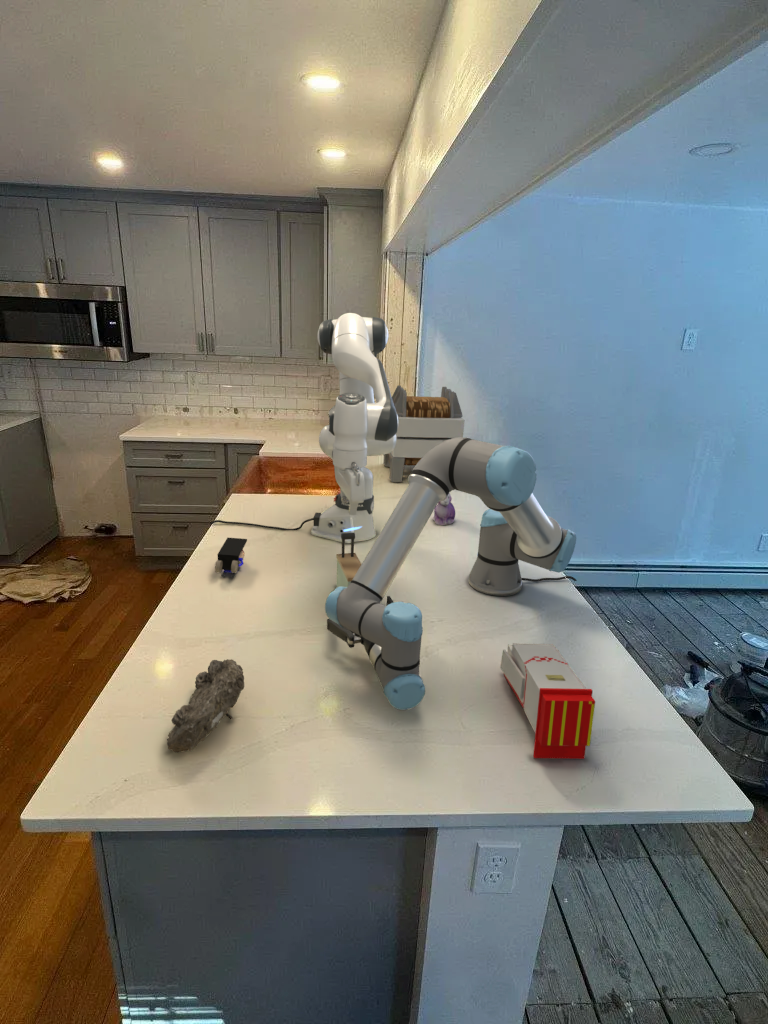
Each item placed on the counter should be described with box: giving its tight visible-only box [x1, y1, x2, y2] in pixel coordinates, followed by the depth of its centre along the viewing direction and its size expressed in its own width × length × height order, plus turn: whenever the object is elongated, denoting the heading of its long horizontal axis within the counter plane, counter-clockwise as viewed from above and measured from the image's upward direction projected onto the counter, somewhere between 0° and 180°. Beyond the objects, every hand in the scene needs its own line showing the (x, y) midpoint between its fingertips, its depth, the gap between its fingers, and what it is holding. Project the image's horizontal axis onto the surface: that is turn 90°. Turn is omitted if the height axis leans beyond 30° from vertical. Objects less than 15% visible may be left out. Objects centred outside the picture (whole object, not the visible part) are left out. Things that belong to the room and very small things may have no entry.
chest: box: [335, 559, 350, 588], centre depth 153 cm, size 15×5×9 cm, turn 16°
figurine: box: [433, 492, 456, 526], centre depth 211 cm, size 9×10×15 cm
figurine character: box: [214, 537, 248, 578], centre depth 166 cm, size 7×8×15 cm
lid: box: [335, 533, 362, 582], centre depth 151 cm, size 15×5×8 cm, turn 16°
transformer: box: [383, 384, 465, 483], centre depth 268 cm, size 34×33×41 cm
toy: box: [499, 642, 596, 760], centre depth 113 cm, size 12×13×30 cm
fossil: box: [166, 658, 245, 754], centre depth 106 cm, size 22×10×15 cm
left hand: (348, 508), depth 152 cm, fingers open, 8 cm apart
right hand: (361, 603), depth 140 cm, fingers open, 13 cm apart
